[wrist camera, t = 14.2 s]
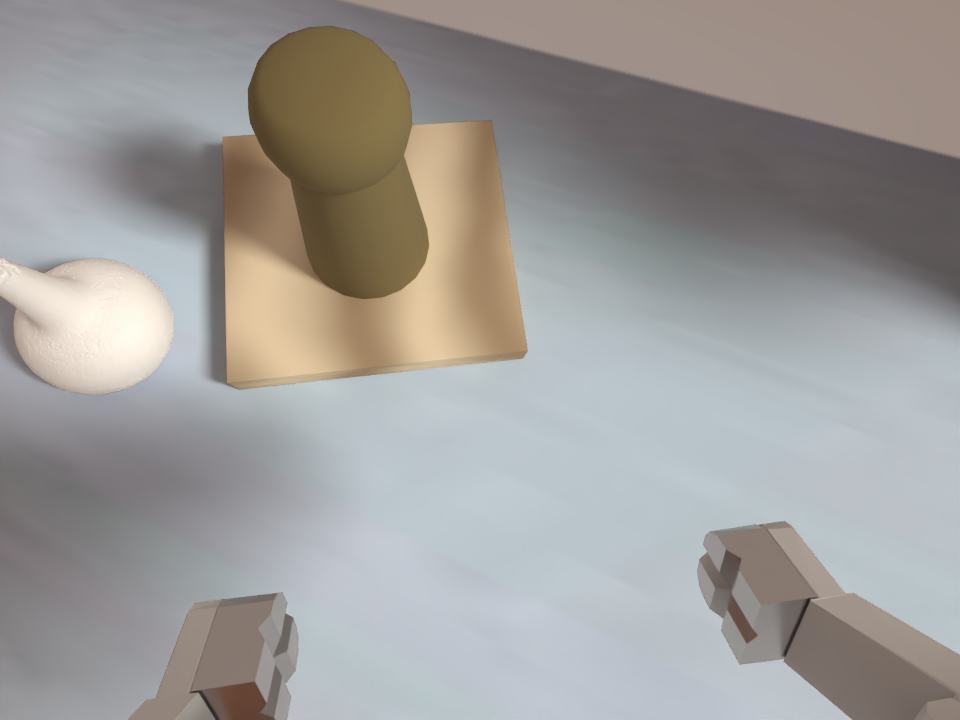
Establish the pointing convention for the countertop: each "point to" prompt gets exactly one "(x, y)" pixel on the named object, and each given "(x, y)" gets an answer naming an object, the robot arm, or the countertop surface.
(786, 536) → the robot arm
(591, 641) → the countertop surface
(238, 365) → the birch board
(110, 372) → the garlic bulb
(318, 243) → the cork
